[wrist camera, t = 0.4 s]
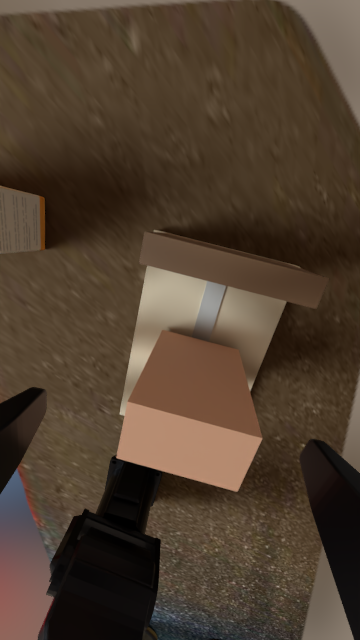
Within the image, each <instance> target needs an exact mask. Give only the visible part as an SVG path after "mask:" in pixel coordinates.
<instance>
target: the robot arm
mask: <svg viewBox="0 0 360 640" xmlns="http://www.w3.org/2000/svg"><path fill="white" fill-rule="evenodd" d="M46 399H47V393H46V390H45V389H42V388H36V387H32V388H29V389H27V390H25V391H23V392H21V393H19V394H18V395H16V396H14V397H12V398H10V399H8V400H6V401H4V402H2V403H0V494H1V492H2V491H3V489H4V488H5V486H6V485H7V483H8V481H9V480H10V478H11V477H12V475H13V474H14V472H15V470H16V469H17V467H18V465H19V464H20V462H21V460H22V458H23V456H24V454H25V453H26V451H27V449H28V447H29V445H30V443H31V441H32V439H33V437H34V435H35V433H36V431H37V429H38V427H39V425H40V423H41V421H42V419H43V417H44V415H45V413H46ZM300 464H301V469H302V473H303V477H304V481H305V485H306V489H307V494H308V498H309V502H310V506H311V509H312V513H313V516H314V519H315V522H316V526H317V529H318V532H319V535H320V538H321V541H322V544H323V547H324V550H325V553H326V556H327V559H328V562H329V565H330V568H331V571H332V574H333V577H334V580H335V583H336V586H337V589H338V592H339V595H340V598H341V601H342V604H343V607H344V610H345V613H346V616H347V619H348V622H349V625H350V628H351V631H352V634H353V637H354V640H360V473H359V472H358V471H357V470H356V469H354V468H353V467H352V466H351V465H350V464H349V463H348V462H347V461H345V460H344V459H343V458H342V457H341V456H340V455H339V454H337V453H336V452H335V451H334V450H333V449H332V448H331V447H330V446H328V445H327V444H326V443H325V442H324V441H321V440H316V439H310V440H309V441H308V443H307V444H306V446H305V447H304V449H303V450H302V452H301V454H300ZM161 476H162V471H160V470H157V469H153V468H150V467H146V466H143V465H139V464H135V463H132V462H128V461H125V460H121V459H117V458H116V456H114V457H112V458H111V461H110V465H109V471H108V476H107V481H106V487H105V492H104V494H103V497H102V499H101V502H100V504H99V507H98V509H97V511H96V514H94V513H92V512H89V510H87V509H84V511H83V513H82V515H79V516H74V517H73V519H72V521H71V523H70V525H69V527H68V530H67V532H66V534H65V536H64V538H63V540H62V542H61V543H60V545H59V547H58V549H57V551H56V553H55V555H54V557H53V559H52V561H51V563H50V571H51V578H50V580H49V582H51V584H50V586H49V588H48V591H47V593H46V595H49V596H53V597H54V599H53V601H52V603H51V605H50V608H49V610H48V612H47V615H46V617H45V620H44V622H43V624H42V627H41V629H40V631H39V634H38V640H142V638H143V633H144V632H145V631H146V629H147V627H148V625H149V623H150V620H151V617H152V614H153V610H154V606H155V602H156V597H157V591H158V582H159V563H160V543H161V539H158V538H153V537H151V536H148V535H146V534H145V530H146V525H147V521H148V516H149V511H150V507H151V506H153V503H154V500H155V496H156V493H157V490H158V486H159V483H160V479H161Z"/></svg>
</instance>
